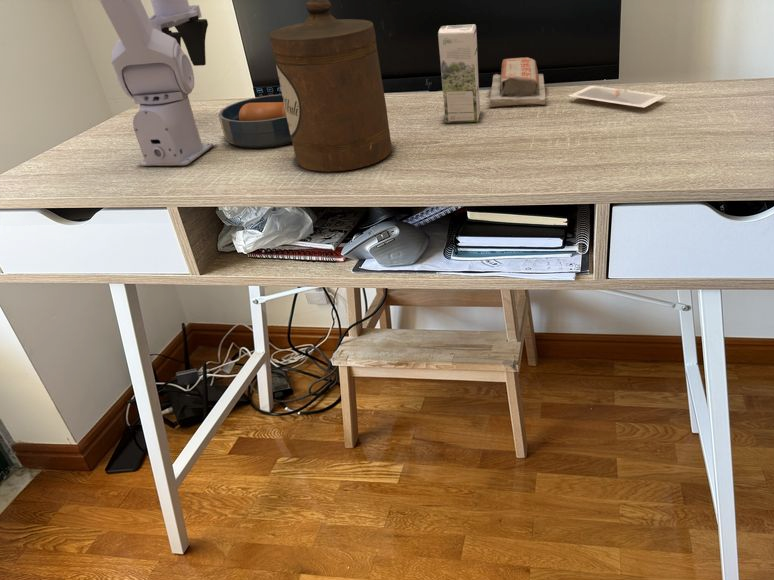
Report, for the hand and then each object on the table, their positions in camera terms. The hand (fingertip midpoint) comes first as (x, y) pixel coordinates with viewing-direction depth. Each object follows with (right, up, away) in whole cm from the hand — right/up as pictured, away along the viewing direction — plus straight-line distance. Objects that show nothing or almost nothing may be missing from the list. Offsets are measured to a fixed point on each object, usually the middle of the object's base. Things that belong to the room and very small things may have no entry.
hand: (189, 70), depth 118 cm
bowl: (+15, -12, -2) cm, 20 cm away
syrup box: (+48, -9, -2) cm, 49 cm away
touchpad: (+75, -6, 0) cm, 75 cm away
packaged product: (+58, -1, +9) cm, 59 cm away
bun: (+15, -11, -2) cm, 19 cm away
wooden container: (+30, -19, -13) cm, 38 cm away
